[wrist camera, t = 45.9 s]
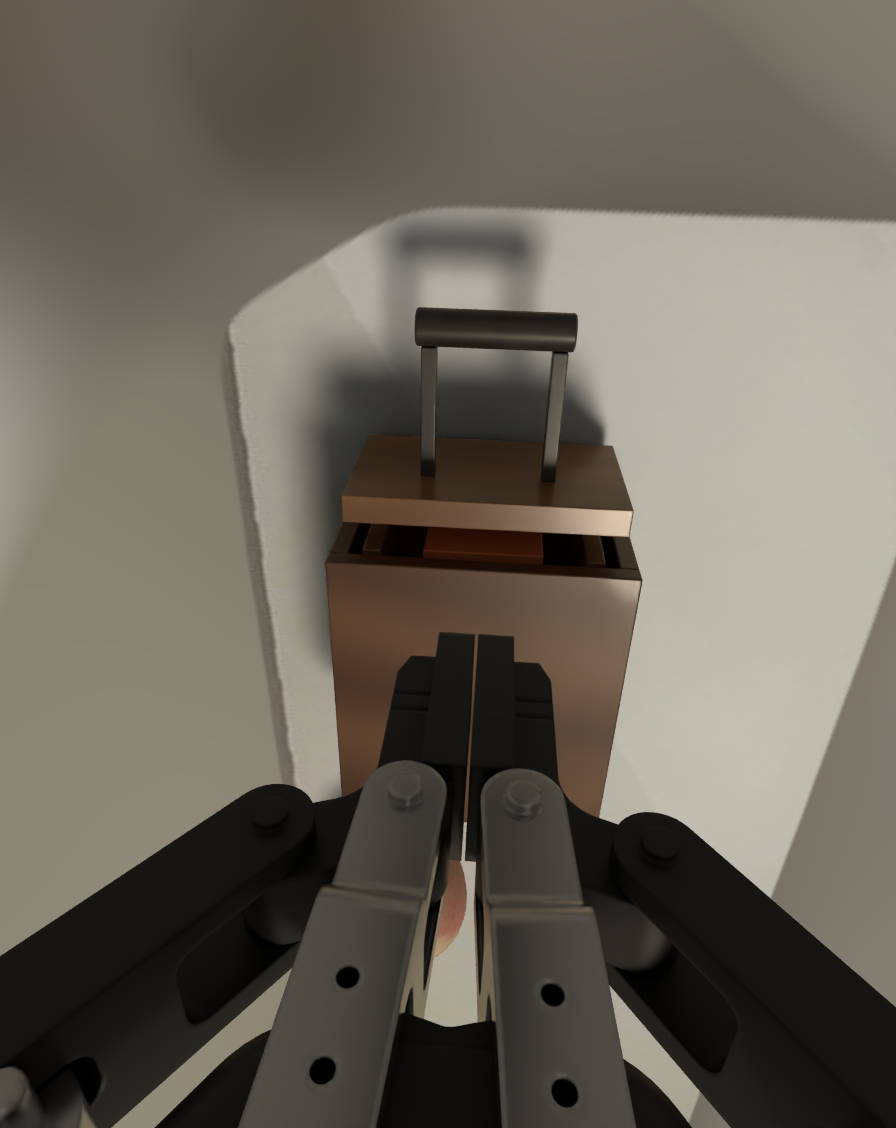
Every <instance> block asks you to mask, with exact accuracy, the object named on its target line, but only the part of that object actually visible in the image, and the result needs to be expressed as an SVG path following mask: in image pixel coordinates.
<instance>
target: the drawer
mask: <svg viewBox="0 0 896 1128" xmlns="http://www.w3.org/2000/svg"><path fill="white" fill-rule="evenodd" d="M577 330H578V317H577V314H575V313H555V312H529V311H504V310H478V309H452V308H426V307H419V308H417V310H416V315H415V342H416V345H417V346H422V347H421V437H413V436H392V435H371V434H370V435H369V437H368V439H367V441H366V443H365V445H364V447H363V450H362V452H361V454H360V456H359V458H358V460H357V463H356V465H355V467H354V469H353V471H352V473H351V476H350V478H349V480H348V482H347V484H346V486H345V489H344V491H343V493H342V495H341V502H342V520H343V522H354V523H371V526H370V529H369V532H368V535H367V538H366V540H365V543H364V546H363V549H362V555H378V556H396V557H414V558H423V550H424V546H425V541H426V536H427V531H428V527H447V528H465V529H484V530H502V531H521V532H539V533H542V545H543V565H557V566H574V567H592V568H606V561H605V556H604V552H603V547H602V543H601V538H600V536H614V537H629V536H630V530H631V524H632V518H633V512H634V511H633V507H632V504H631V501H630V498H629V495H628V492H627V489H626V486H625V483H624V480H623V477H622V473H621V470H620V467H619V464H618V461H617V458H616V455H615V452H614V449H613V446H602V445H581V444H560V443H559V441H560V432H561V422H562V413H563V403H564V394H565V384H566V375H567V365H568V352H574V350H575V346H576V340H577ZM438 347H455V348H479V349H504V350H528V351H552V357H551V367H550V378H549V389H548V399H547V410H546V421H545V432H544V442H543V443H539V442H518V441H497V440H476V439H455V438H436V424H437V359H438Z"/></svg>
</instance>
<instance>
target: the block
mask: <svg viewBox="0 0 896 1128" xmlns="http://www.w3.org/2000/svg"><path fill="white" fill-rule="evenodd" d="M423 558H432V559H449V560H467V561H485V562H503V563H521V564H539V565H543V545H542V533H539V532H521V531H502V530H484V529H465V528H447V527H428V531H427V536H426V541H425V546H424V550H423Z"/></svg>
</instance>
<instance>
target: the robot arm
mask: <svg viewBox="0 0 896 1128" xmlns="http://www.w3.org/2000/svg"><path fill="white" fill-rule="evenodd" d="M474 647H475V634H467V633H450V632H439V637H438V644H437V651H436V657H430V656H414V655H411V657H410V658H409V659H408V660H407V661H406V662H405V663H404V665H403V666H402V667H401V668H400V669H399V670H398V672H397V677H396V682H395V686H394V694H393V696H392V701H391V707H390V710H389V715H388V720H387V725H386V730H385V734H384V739H383V744H382V749H381V754H380V759H379V763H378V767H377V770H375V771H374V772H373V773H372V774H371V775H370V776H369V777H368V779H367V780H366V782H365V784H364V786H363V787H361V788H360V789H359V790H357V791H355V792H353V793H351V794H349V795H346V796H343V797H340V798H336V799H331V800H326V801H321V802H316V803H312V801H311V799H310V797H309V796H308V795H307V794H306V793H305V792H303V791H302V790H300V789H298V788H296V787H294V786H290V785H285V784H271V785H265V786H261V787H258V788H255V789H253V790H251V791H249V792H247V793H245V794H244V795H242V796H241V797H239V798H238V799H236V800H235V801H234V802H232V803H230V804H229V805H227V806H226V807H224V808H223V809H221V810H220V811H218V812H217V813H215V814H214V815H212V816H211V817H209V818H208V819H206V820H205V821H203V822H202V823H200V824H199V825H197V826H196V827H194V828H193V829H191V830H190V831H188V832H187V833H185V834H184V835H182V836H181V837H179V838H178V839H176V840H174V841H173V842H172V843H170V844H169V845H167V846H165V847H164V848H162V849H161V850H159V851H158V852H156V853H155V854H153V855H152V856H150V857H149V858H147V859H146V860H144V861H143V862H141V863H140V864H139V865H137V866H136V867H134V868H133V869H131V870H129V871H128V872H126V873H125V874H123V875H122V876H120V877H119V878H117V879H116V880H114V881H113V882H112V883H110V884H108V885H107V886H105V887H104V888H102V889H101V890H99V891H98V892H96V893H95V894H93V895H92V896H90V897H89V898H87V899H86V900H84V901H83V902H81V903H80V904H78V905H77V906H75V907H74V908H72V909H71V910H69V911H68V912H66V913H65V914H63V915H62V916H60V917H59V918H57V919H55V920H54V921H52V922H51V923H50V924H48V925H46V926H45V927H44V928H42V929H40V930H39V931H38V932H36V933H34V934H33V935H31V936H30V937H28V938H27V939H25V940H24V941H22V942H21V943H19V944H18V945H16V946H15V947H14V948H12V949H10V950H9V951H7V952H6V953H5V954H3V955H1V956H0V1128H111V1127H112V1126H114V1125H115V1124H116V1123H117V1122H118V1121H119V1120H120V1119H122V1118H123V1117H124V1116H125V1115H126V1114H127V1113H128V1112H129V1111H131V1110H132V1109H133V1108H134V1107H135V1106H136V1105H137V1104H138V1103H140V1102H141V1101H142V1100H143V1099H144V1098H145V1097H146V1096H147V1095H148V1094H150V1093H151V1092H152V1091H153V1090H154V1089H155V1088H157V1087H158V1086H159V1085H160V1084H161V1083H162V1082H163V1081H164V1080H166V1079H167V1078H168V1077H169V1076H170V1075H171V1074H172V1073H173V1072H175V1071H176V1070H177V1069H178V1068H179V1067H180V1066H181V1065H183V1064H184V1063H185V1062H186V1061H187V1060H188V1059H189V1058H190V1057H192V1055H194V1054H195V1053H196V1052H197V1051H198V1050H199V1049H201V1048H202V1047H203V1046H204V1045H205V1044H206V1043H207V1042H208V1041H210V1040H211V1039H212V1038H213V1037H214V1036H215V1035H216V1034H217V1033H219V1032H220V1031H221V1030H222V1029H223V1028H224V1027H225V1026H227V1025H228V1024H229V1023H230V1022H231V1021H232V1020H233V1019H234V1018H236V1017H237V1016H238V1015H239V1014H240V1013H241V1012H242V1011H243V1010H245V1009H246V1008H247V1007H248V1006H249V1005H250V1004H251V1003H253V1002H254V1001H255V1000H256V999H257V998H258V997H259V996H260V995H262V994H263V993H264V992H265V991H266V990H267V989H268V988H269V987H270V986H272V985H273V984H274V983H275V982H276V981H277V980H279V979H280V978H281V977H282V976H283V975H284V974H285V973H286V972H287V971H289V970H290V969H291V968H292V970H291V973H290V976H289V979H288V982H287V985H286V988H285V991H284V994H283V997H282V1000H281V1003H280V1006H279V1008H278V1011H277V1014H276V1018H275V1020H274V1023H273V1027H272V1029H271V1030H269V1031H267V1032H265V1033H262V1034H261V1035H259V1036H257V1037H255V1038H254V1039H252V1040H251V1041H249V1042H247V1043H245V1044H244V1045H243V1046H241V1047H240V1048H239V1049H238V1050H236V1051H235V1052H234V1053H232V1054H231V1055H230V1056H228V1057H227V1058H226V1059H225V1060H224V1061H223V1062H222V1063H221V1064H220V1065H218V1066H217V1067H216V1068H215V1069H214V1070H213V1071H212V1073H210V1074H209V1075H208V1076H207V1077H206V1078H205V1079H204V1080H203V1081H202V1082H201V1083H200V1084H199V1085H198V1086H197V1087H196V1088H195V1089H194V1090H193V1091H192V1092H191V1093H190V1094H189V1095H188V1096H187V1097H186V1098H185V1099H184V1100H183V1101H181V1102H180V1104H178V1105H177V1106H176V1107H175V1108H174V1109H173V1110H172V1111H171V1112H170V1113H169V1114H168V1115H167V1116H166V1117H165V1118H164V1119H163V1120H162V1121H161V1122H160V1123H159V1124H158V1125H157V1126H156V1127H155V1128H692V1127H691V1126H690V1124H689V1123H688V1122H687V1121H686V1119H685V1118H684V1117H683V1115H682V1114H681V1113H680V1111H679V1110H678V1109H677V1108H676V1106H675V1105H674V1104H673V1103H672V1101H671V1100H670V1099H669V1098H668V1097H667V1096H666V1095H665V1093H664V1092H663V1091H662V1090H661V1089H660V1088H659V1087H658V1086H657V1085H656V1084H655V1083H654V1082H653V1081H652V1080H651V1079H649V1078H648V1077H647V1076H646V1075H645V1074H643V1073H642V1072H641V1071H640V1070H639V1069H637V1068H636V1067H635V1066H633V1065H632V1064H630V1063H629V1062H627V1061H626V1060H624V1059H623V1056H622V1050H621V1045H620V1040H619V1035H618V1029H617V1024H616V1019H615V1014H614V1008H613V1003H612V998H611V993H610V987H609V985H610V986H611V987H612V989H613V990H614V991H615V992H616V993H617V994H618V996H619V997H620V998H621V999H622V1000H623V1001H624V1003H625V1004H626V1005H627V1006H628V1007H629V1009H630V1010H631V1011H632V1012H633V1013H634V1014H635V1016H636V1017H637V1018H638V1019H639V1020H640V1021H641V1023H642V1024H643V1025H644V1026H645V1027H646V1028H647V1030H648V1031H649V1032H650V1033H651V1034H652V1036H653V1037H654V1038H655V1039H656V1040H657V1041H658V1043H659V1044H660V1045H661V1046H662V1047H663V1048H664V1050H665V1051H666V1052H667V1053H668V1054H669V1055H670V1057H671V1058H672V1059H673V1060H674V1061H675V1062H676V1064H677V1065H678V1066H679V1067H680V1068H681V1070H682V1071H683V1072H684V1073H685V1074H686V1075H687V1077H688V1078H689V1079H690V1080H691V1081H692V1082H693V1084H694V1085H695V1086H696V1087H697V1088H698V1089H699V1091H700V1092H701V1093H702V1094H703V1095H704V1096H705V1098H706V1099H707V1100H708V1101H709V1102H710V1104H712V1106H713V1107H714V1108H715V1109H716V1110H717V1112H718V1113H719V1114H720V1115H721V1116H722V1117H723V1119H724V1120H725V1121H726V1122H727V1123H728V1125H729V1126H730V1127H731V1128H896V1007H895V1006H894V1005H892V1004H891V1003H890V1002H889V1001H888V1000H887V999H886V998H884V997H883V996H882V995H881V994H880V993H879V992H877V991H876V990H875V989H874V988H873V987H872V986H871V985H869V984H868V983H867V982H866V981H865V980H864V979H863V978H861V977H860V976H859V975H858V974H857V973H856V972H854V971H853V970H852V969H851V968H850V967H849V966H848V965H846V964H845V963H844V962H843V961H842V960H841V959H839V958H838V957H837V956H836V955H835V954H834V953H833V952H831V951H830V950H829V949H828V948H827V947H826V946H824V945H823V944H822V943H821V942H820V941H819V940H818V939H816V938H815V937H814V936H813V935H812V934H811V933H810V932H808V931H807V930H806V929H805V928H804V927H803V926H802V925H800V924H799V923H798V922H797V921H796V920H795V919H793V918H792V917H791V916H790V915H789V914H788V913H787V912H785V911H784V910H783V909H782V908H781V907H780V906H778V905H777V904H776V903H775V902H774V901H773V900H772V899H770V898H769V897H768V896H767V895H766V894H765V893H764V892H762V891H761V890H760V889H759V888H758V887H757V886H755V885H754V884H753V883H752V882H751V881H750V880H749V879H747V878H746V877H745V876H744V875H743V874H742V873H741V872H739V871H738V870H737V869H736V868H735V867H734V866H732V865H731V864H730V863H729V862H728V861H727V860H726V859H724V858H723V857H722V856H721V855H720V854H719V853H717V852H716V851H715V850H714V849H713V848H712V847H711V846H709V845H708V844H707V843H706V842H705V841H704V840H703V839H701V838H700V837H699V836H698V835H697V834H696V833H694V832H693V831H692V830H691V829H690V828H689V827H687V826H686V825H685V824H683V823H682V822H680V821H678V820H677V819H674V818H672V817H670V816H667V815H664V814H660V813H654V812H643V813H637V814H633V815H631V816H629V817H627V818H625V819H624V820H622V821H621V822H620V824H619V825H618V824H615V823H612V822H609V821H606V820H603V819H601V818H598V817H595V816H593V815H590V814H588V813H586V812H585V811H583V810H581V809H580V808H579V807H577V806H576V805H575V804H574V803H572V802H571V801H570V800H569V798H568V797H567V796H566V795H565V793H564V791H563V790H562V788H561V785H560V783H559V777H558V765H557V751H556V738H555V724H554V711H553V697H552V684H551V680H550V678H549V677H548V675H547V674H546V672H545V671H544V669H543V668H542V666H541V665H540V663H528V662H514V636H502V635H485V634H478V646H477V662H476V678H475V694H474V709H473V725H472V741H471V757H470V774H469V793H468V813H467V832H466V851H465V861H473V862H476V875H475V895H474V926H475V954H476V981H477V1014H478V1022H477V1023H472V1024H467V1025H461V1026H456V1027H445V1026H441V1025H438V1024H435V1023H433V1022H430V1021H427V1020H425V1019H424V1014H425V1007H426V1000H427V994H428V988H429V983H430V977H431V971H432V965H433V959H434V953H435V948H436V942H437V936H438V930H439V924H440V918H441V913H442V907H443V896H444V893H445V890H446V888H447V883H448V873H449V861H450V860H457V861H461V856H462V841H463V826H464V811H465V796H466V781H467V766H468V752H469V737H470V722H471V705H472V686H473V666H474Z"/></svg>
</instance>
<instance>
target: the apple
mask: <svg viewBox="0 0 896 1128" xmlns="http://www.w3.org/2000/svg"><path fill="white" fill-rule="evenodd" d="M466 900H467V890H466V883H465V877H464V872H463V869H462V866H461V863H460V861H457V860H450V861H449V873H448V883H447V888H446V890H445V893H444V896H443V907H442V913H441V918H440V924H439V930H438V936H437V942H436V948H435V953H434V957H436V956H438V955H439V954H441V953H442V952H444V951H445V950H446V949H447V948H448V947H449V945H450V944H451V943H452V942H453V940H454V939H455V937H456V936H457V934H458V932H459V930H460V927H461V925H462V922H463V919H464V915H465V910H466Z"/></svg>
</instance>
